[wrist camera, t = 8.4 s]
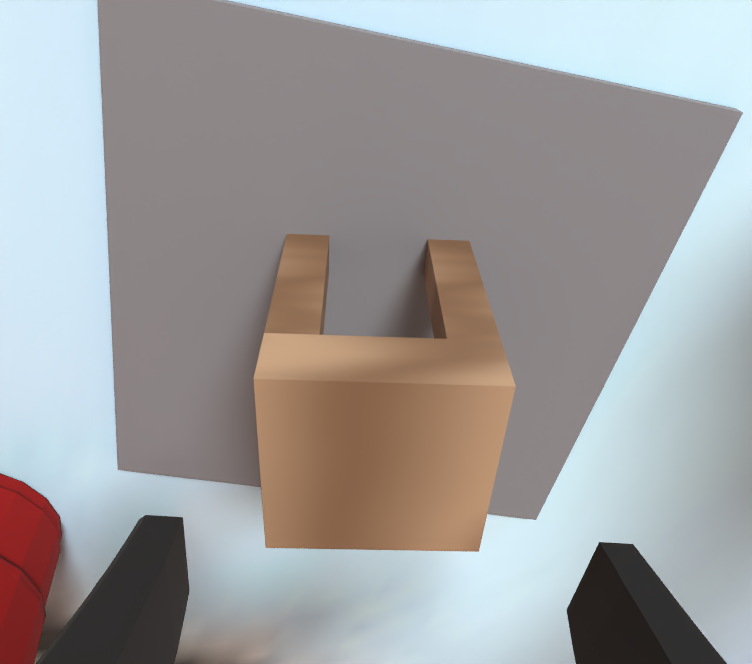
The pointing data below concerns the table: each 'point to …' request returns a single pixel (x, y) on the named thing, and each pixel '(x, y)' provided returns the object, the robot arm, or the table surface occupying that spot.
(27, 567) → the plastic cup
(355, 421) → the stool
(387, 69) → the mat
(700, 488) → the table surface
